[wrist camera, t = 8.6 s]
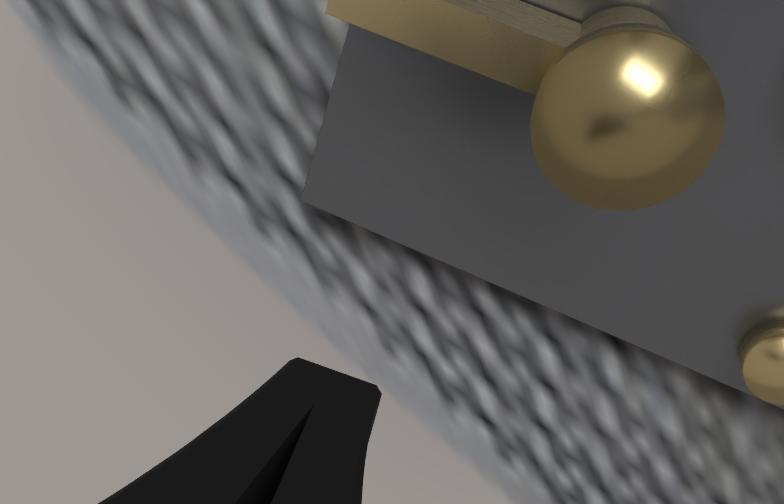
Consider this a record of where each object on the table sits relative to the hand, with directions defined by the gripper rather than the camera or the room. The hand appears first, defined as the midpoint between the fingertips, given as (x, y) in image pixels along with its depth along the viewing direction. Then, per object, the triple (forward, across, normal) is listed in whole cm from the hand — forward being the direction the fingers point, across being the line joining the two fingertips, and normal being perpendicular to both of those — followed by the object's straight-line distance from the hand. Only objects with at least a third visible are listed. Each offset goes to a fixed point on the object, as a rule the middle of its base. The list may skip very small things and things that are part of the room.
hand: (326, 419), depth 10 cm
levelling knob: (+8, -1, -4) cm, 10 cm away
